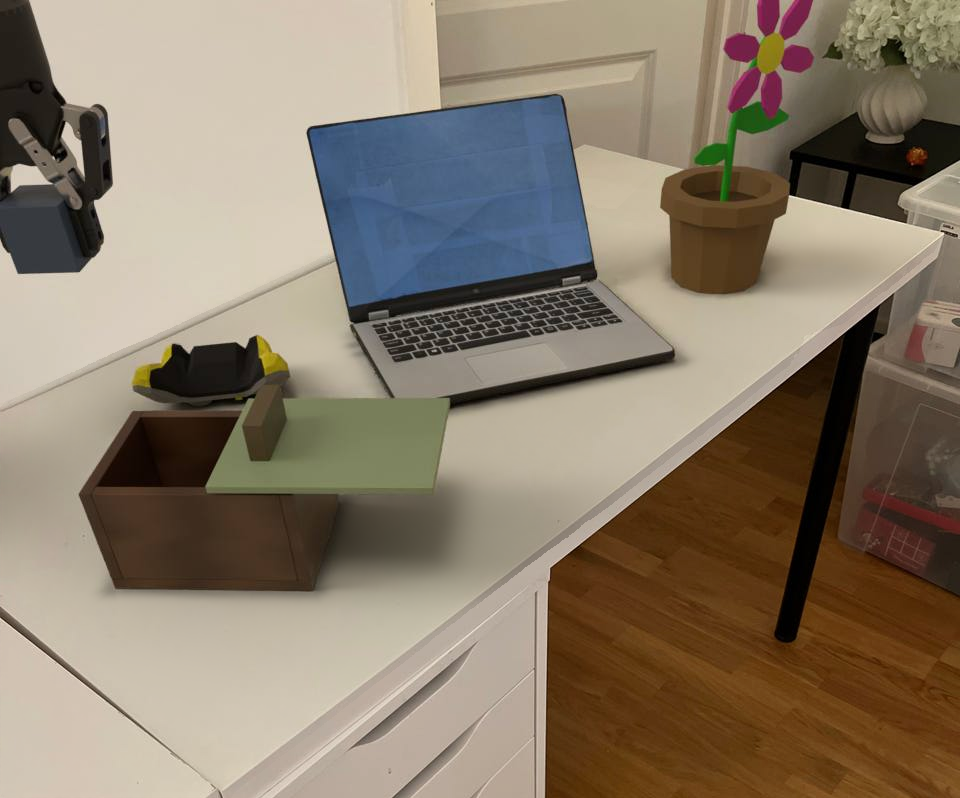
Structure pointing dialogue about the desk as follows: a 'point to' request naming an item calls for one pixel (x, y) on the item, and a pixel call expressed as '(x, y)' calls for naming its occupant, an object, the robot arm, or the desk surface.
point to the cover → (332, 446)
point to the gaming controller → (211, 372)
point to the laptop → (471, 251)
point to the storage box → (197, 513)
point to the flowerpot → (736, 169)
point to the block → (40, 231)
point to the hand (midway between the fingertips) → (57, 254)
